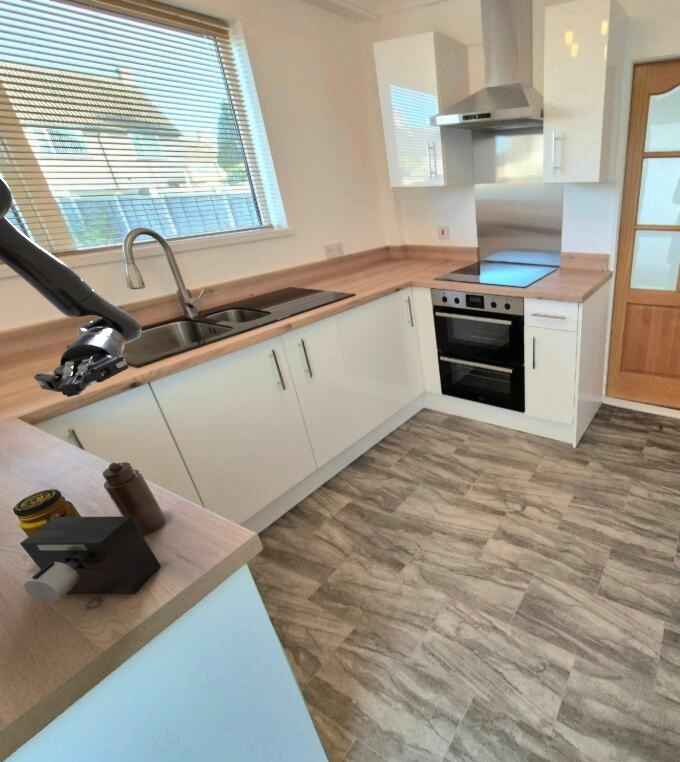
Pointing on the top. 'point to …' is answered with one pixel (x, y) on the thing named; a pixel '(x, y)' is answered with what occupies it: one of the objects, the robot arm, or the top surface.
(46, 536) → the panel
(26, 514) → the condiment
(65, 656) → the top surface
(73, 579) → the knob
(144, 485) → the pepper mill
